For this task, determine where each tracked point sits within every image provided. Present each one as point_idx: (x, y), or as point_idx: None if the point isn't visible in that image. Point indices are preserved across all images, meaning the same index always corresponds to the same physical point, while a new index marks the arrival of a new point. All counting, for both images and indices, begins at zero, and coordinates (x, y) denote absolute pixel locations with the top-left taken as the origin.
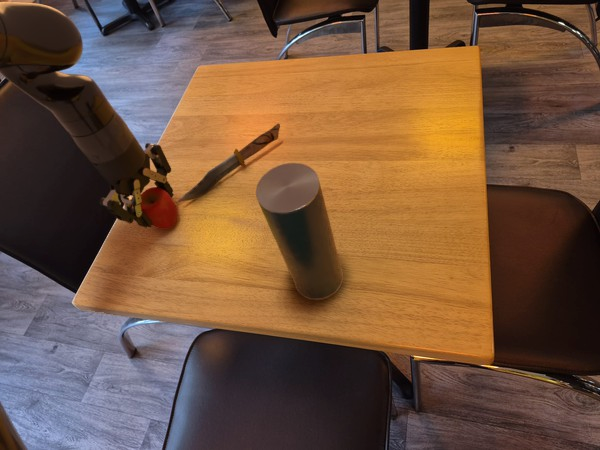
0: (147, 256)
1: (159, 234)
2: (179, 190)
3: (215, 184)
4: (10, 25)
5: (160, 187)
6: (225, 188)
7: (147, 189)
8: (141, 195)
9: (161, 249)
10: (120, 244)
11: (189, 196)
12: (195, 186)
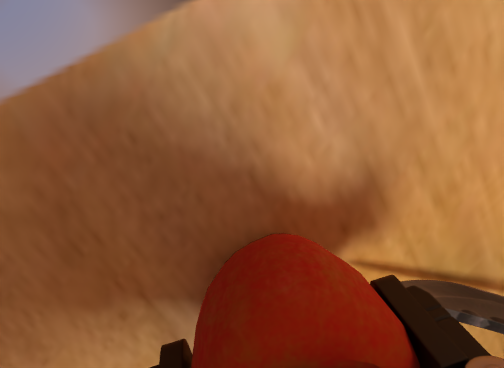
0: (92, 335)
1: (198, 289)
2: (423, 170)
3: (498, 295)
4: None
5: (421, 365)
6: None
7: (372, 359)
8: (307, 361)
9: (155, 350)
10: (26, 179)
11: None
12: (474, 318)
